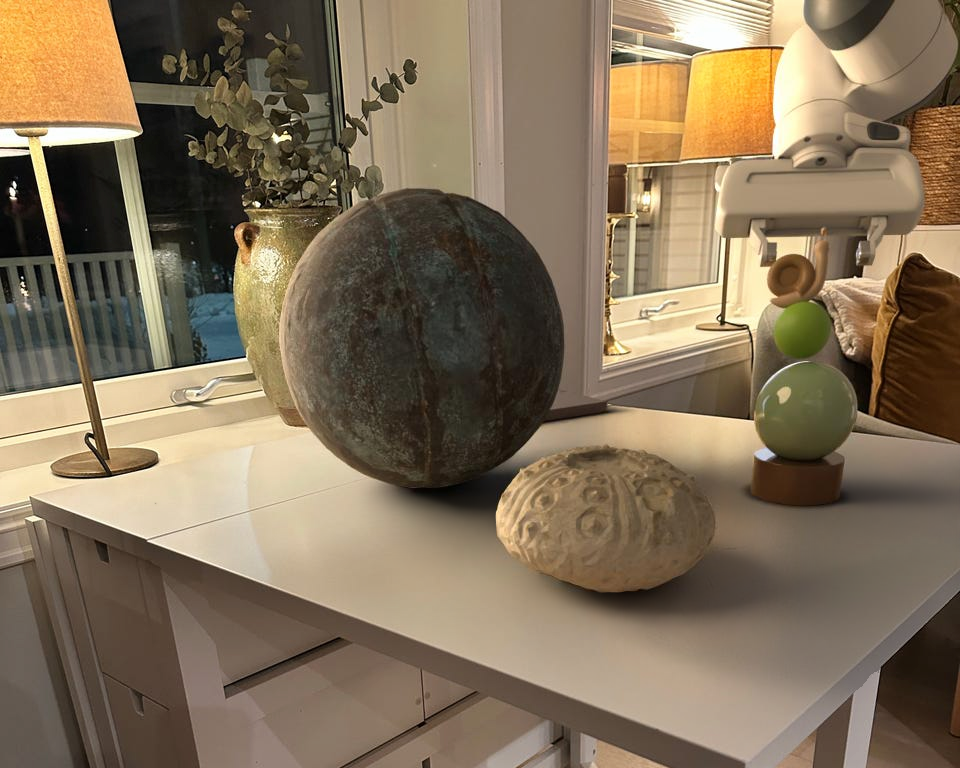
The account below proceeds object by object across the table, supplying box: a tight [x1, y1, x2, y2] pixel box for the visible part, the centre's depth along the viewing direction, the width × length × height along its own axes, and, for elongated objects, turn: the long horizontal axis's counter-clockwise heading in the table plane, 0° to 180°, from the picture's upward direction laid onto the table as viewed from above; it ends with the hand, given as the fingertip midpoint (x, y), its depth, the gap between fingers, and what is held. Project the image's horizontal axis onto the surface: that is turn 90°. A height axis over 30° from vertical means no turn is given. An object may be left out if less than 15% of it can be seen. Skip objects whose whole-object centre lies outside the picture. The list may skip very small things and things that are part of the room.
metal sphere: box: [278, 187, 565, 489], centre depth 97 cm, size 30×30×30 cm
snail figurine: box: [766, 227, 832, 360], centre depth 91 cm, size 5×6×12 cm
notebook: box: [543, 388, 608, 422], centre depth 136 cm, size 13×2×21 cm
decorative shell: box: [495, 443, 716, 593], centre depth 75 cm, size 18×18×10 cm
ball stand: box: [750, 360, 859, 506], centre depth 94 cm, size 10×10×14 cm
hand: (816, 262), depth 92 cm, fingers open, 8 cm apart
